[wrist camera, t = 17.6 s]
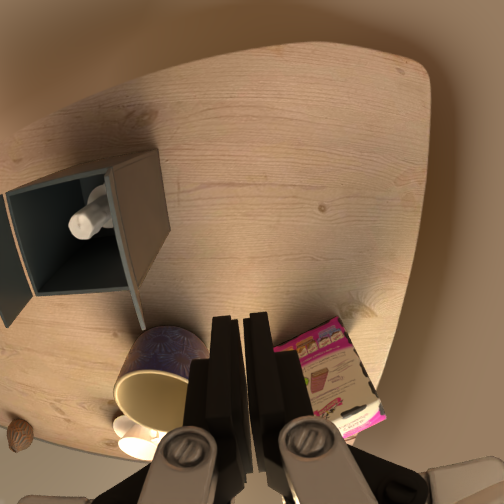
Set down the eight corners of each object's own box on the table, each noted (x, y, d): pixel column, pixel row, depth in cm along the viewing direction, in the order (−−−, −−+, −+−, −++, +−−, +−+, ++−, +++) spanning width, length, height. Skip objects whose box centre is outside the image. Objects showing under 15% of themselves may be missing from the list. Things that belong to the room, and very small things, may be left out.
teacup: (185, 428, 52) (183, 450, 47) (158, 450, 55) (154, 470, 50) (127, 400, 49) (121, 422, 44) (106, 426, 52) (100, 446, 47)
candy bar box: (283, 368, 47) (300, 457, 32) (268, 348, 45) (282, 441, 30) (350, 337, 45) (388, 420, 30) (339, 314, 43) (379, 399, 28)
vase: (22, 430, 55) (10, 454, 47) (9, 412, 52) (-5, 437, 44) (41, 435, 55) (30, 461, 47) (28, 417, 52) (15, 444, 44)
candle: (105, 169, 34) (54, 192, 23) (146, 179, 34) (108, 206, 23) (98, 211, 36) (50, 249, 24) (137, 222, 36) (101, 265, 25)
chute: (158, 148, 34) (80, 180, 16) (170, 230, 37) (119, 328, 19) (71, 166, 33) (-39, 212, 15) (87, 240, 37) (2, 328, 19)
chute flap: (107, 168, 20) (111, 167, 20) (135, 293, 24) (139, 292, 24) (103, 176, 15) (108, 175, 15) (141, 330, 19) (146, 329, 19)
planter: (231, 340, 44) (231, 397, 34) (192, 389, 48) (186, 443, 38) (151, 300, 41) (130, 353, 31) (122, 357, 45) (102, 409, 35)
